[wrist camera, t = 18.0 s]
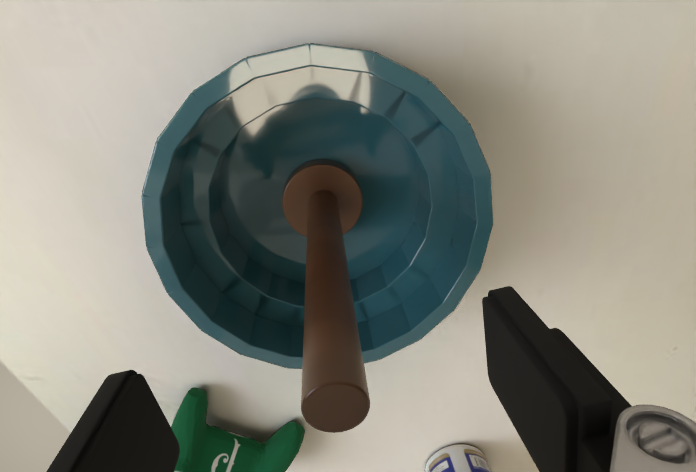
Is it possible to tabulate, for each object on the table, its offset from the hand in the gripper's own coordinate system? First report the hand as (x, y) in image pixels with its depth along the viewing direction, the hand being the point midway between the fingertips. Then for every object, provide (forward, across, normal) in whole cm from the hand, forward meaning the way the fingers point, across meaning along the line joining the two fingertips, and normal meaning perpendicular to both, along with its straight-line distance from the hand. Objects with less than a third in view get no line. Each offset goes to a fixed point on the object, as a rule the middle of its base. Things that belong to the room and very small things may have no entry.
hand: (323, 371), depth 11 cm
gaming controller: (+15, +10, +16) cm, 24 cm away
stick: (+14, 0, 0) cm, 14 cm away
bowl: (+14, 0, 0) cm, 14 cm away
